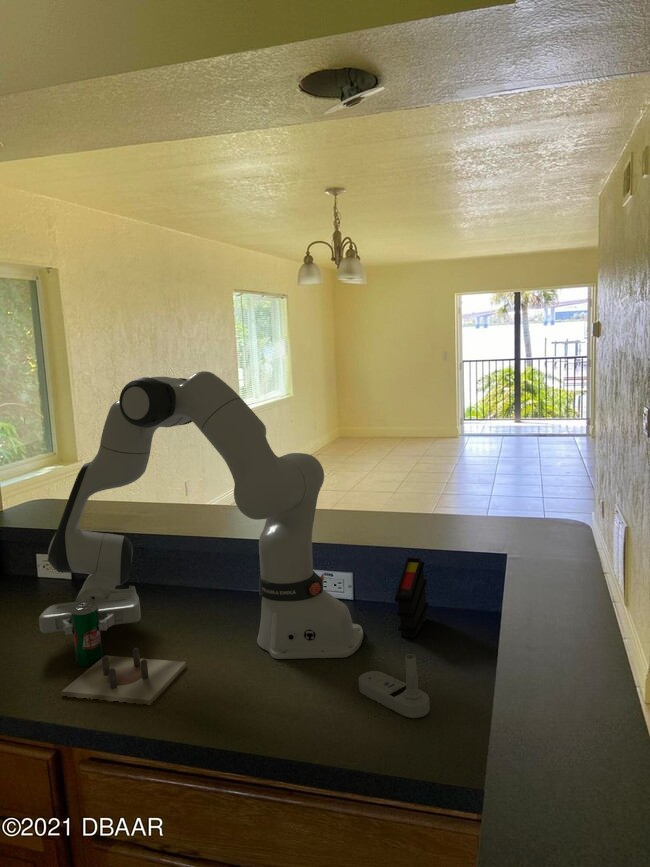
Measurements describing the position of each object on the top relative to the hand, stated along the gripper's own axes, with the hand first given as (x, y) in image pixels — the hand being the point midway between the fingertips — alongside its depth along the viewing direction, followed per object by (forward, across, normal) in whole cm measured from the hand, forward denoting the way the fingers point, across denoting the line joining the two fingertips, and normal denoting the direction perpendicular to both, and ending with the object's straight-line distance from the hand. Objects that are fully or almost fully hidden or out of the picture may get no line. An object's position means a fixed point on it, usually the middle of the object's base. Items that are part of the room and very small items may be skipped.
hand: (85, 629), depth 131 cm
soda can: (-1, 0, +7) cm, 7 cm away
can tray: (+10, +8, +7) cm, 15 cm away
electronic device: (+30, +55, +8) cm, 63 cm away
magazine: (+4, +67, +8) cm, 68 cm away
